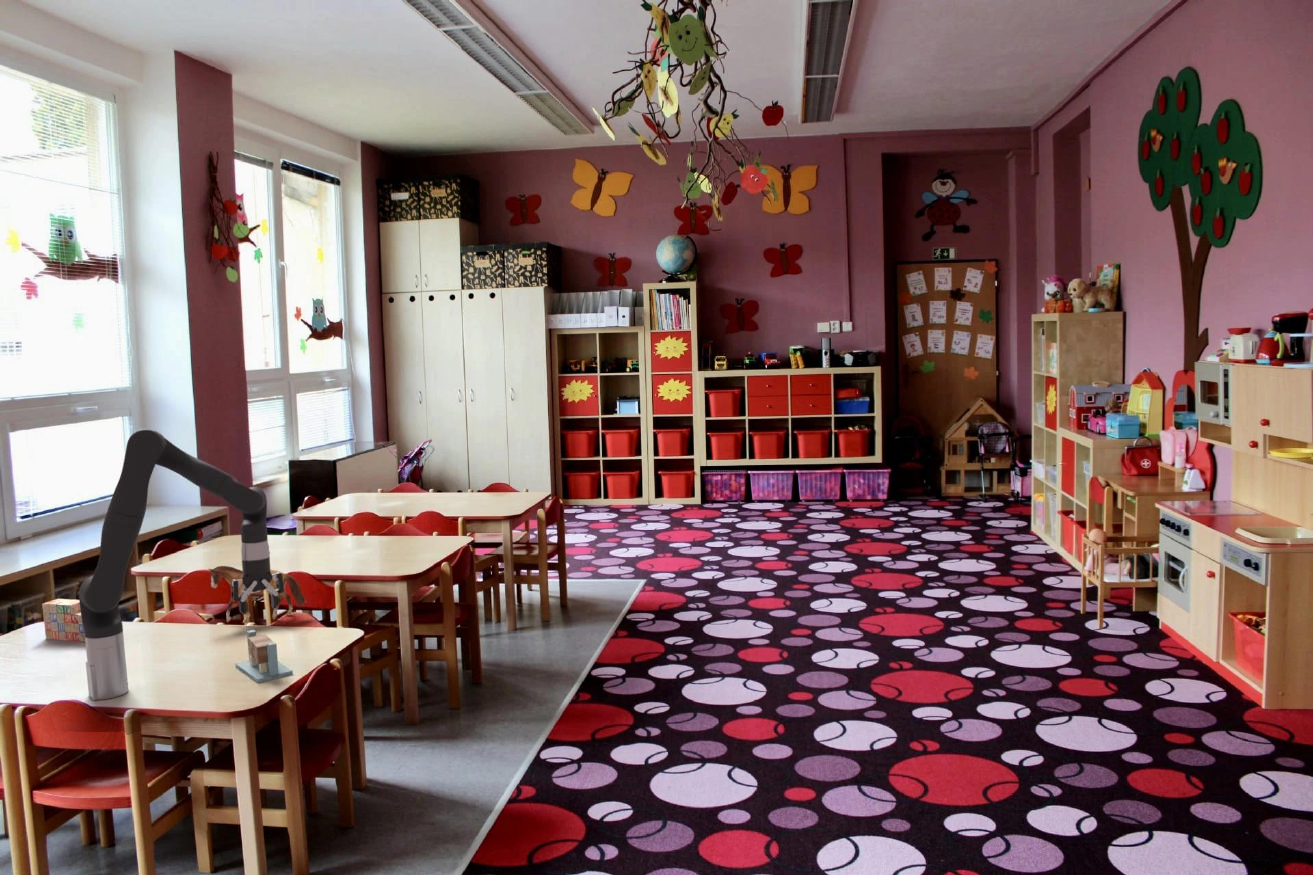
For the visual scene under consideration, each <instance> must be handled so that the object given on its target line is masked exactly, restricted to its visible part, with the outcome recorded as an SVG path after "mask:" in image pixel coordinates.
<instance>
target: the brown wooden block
mask: <svg viewBox="0 0 1313 875" xmlns="http://www.w3.org/2000/svg"><path fill="white" fill-rule="evenodd" d="M272 642H274V641H273V640H272V639H271V638H270V636H268V635H267V634H266V633H265V634H259V635H256V636H253V637H248V639H247V646H248V645H249V652H248V655H249V654H250V655H251V656H252V658H253V659H254V660H255V661H256V662H257V663H258V664H263V663H268V652H267V644H268V643H272Z"/></svg>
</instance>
